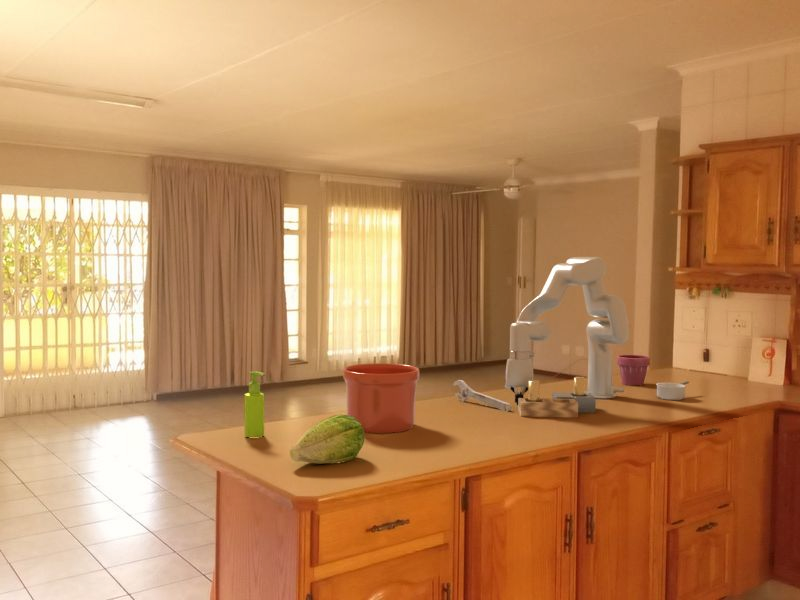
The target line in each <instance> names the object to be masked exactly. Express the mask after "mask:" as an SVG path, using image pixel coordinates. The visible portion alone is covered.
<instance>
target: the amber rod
mask: <svg viewBox="0 0 800 600" xmlns="http://www.w3.org/2000/svg"><path fill="white" fill-rule="evenodd" d="M540 388H541V381H540V380H537V379H536V380H535V379H534V380H529V381H528V391H527V398H528V402H539V398H540V391H541V390H540Z"/></svg>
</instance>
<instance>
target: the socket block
mask: <svg viewBox="0 0 800 600" xmlns="http://www.w3.org/2000/svg"><path fill="white" fill-rule="evenodd" d="M551 399H574V400H575V401H576V402H577V403H578V413H589V414H590V413H596V405H597V404H596V403H597V401H596V399H597V398H595V397H594V396H593V395H592V394H591V393H585V396H574V391H572V392H570V391H569V392H567V391H562V392H561V391H560V392H559V391H553V392H552V397H551Z"/></svg>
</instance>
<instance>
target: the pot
mask: <svg viewBox="0 0 800 600" xmlns="http://www.w3.org/2000/svg"><path fill="white" fill-rule="evenodd" d="M342 376H343V377H342V378H343V380H344V381H345V390H346V391H345V392H346V415H348V416H352V417H354V418H356V419H357V420H358V421H359V422H360V423H361V424H362V427H363V430H364V433H368V432H369V433H371V434H392V433H393V432H395V433H402V432H405V431H409V430H411V429H412V428H413V427H414V424H415V415H416V414H415V413H416V396H417V395H416V394H417V391H416V390H417V383H418V380H419V379H420V369H419V368H418V367H416V366H414V365H410V364H409V365H408V364H401V363H381V362H379V363H359V364H353V365H348V366H347V365H346V366H345V367H343V370H342Z"/></svg>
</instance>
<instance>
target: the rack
mask: <svg viewBox="0 0 800 600" xmlns="http://www.w3.org/2000/svg"><path fill="white" fill-rule="evenodd" d="M517 406H518V407H517V408H518V409H517V412H518V414H519V416H520V417H537V418H540V417H541V418H579V412H578V403H577V402H576V401H575V400H574V399H552V398H547V399H541V398H540V397H539V402H528V397H527V398H525V397H523V398H518V405H517Z"/></svg>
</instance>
